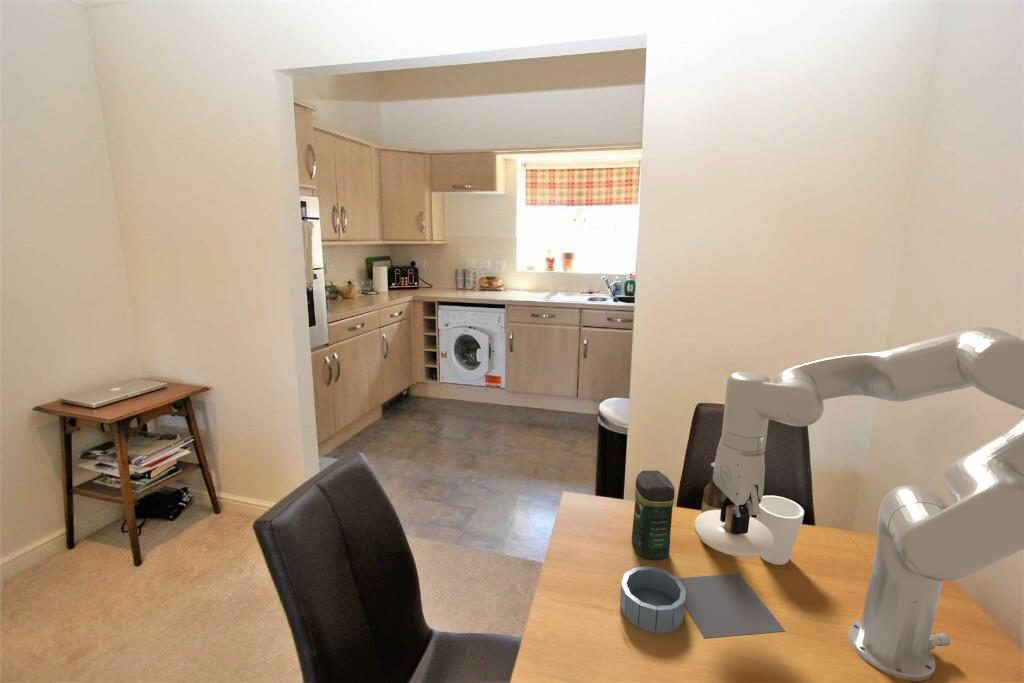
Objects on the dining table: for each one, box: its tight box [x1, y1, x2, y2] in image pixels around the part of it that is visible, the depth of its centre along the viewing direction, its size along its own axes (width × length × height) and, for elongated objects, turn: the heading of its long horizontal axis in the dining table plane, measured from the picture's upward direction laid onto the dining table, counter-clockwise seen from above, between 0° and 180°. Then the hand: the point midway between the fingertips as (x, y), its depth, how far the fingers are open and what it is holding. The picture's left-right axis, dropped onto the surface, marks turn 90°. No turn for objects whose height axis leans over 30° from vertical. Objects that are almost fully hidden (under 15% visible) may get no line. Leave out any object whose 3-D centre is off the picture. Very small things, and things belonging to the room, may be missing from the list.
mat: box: [677, 573, 786, 639], centre depth 103 cm, size 16×16×1 cm
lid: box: [693, 504, 773, 558], centre depth 98 cm, size 14×14×6 cm
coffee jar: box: [631, 469, 675, 561], centre depth 118 cm, size 10×8×19 cm
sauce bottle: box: [699, 461, 724, 548], centre depth 121 cm, size 6×6×20 cm
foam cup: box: [756, 495, 805, 566], centre depth 116 cm, size 10×9×13 cm
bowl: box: [619, 565, 686, 634], centre depth 101 cm, size 12×12×6 cm
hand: (733, 526), depth 99 cm, fingers closed on lid, 3 cm apart
